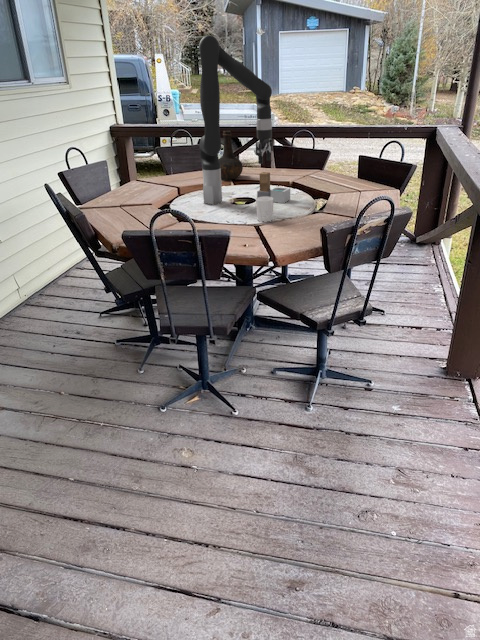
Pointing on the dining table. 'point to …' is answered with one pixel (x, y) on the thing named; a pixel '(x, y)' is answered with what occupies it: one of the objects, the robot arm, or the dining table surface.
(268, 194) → the gray square block
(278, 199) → the white microwave oven
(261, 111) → the robot arm
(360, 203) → the dining table surface
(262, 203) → the white cup
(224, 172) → the glass bottle
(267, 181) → the block
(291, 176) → the dining table surface
